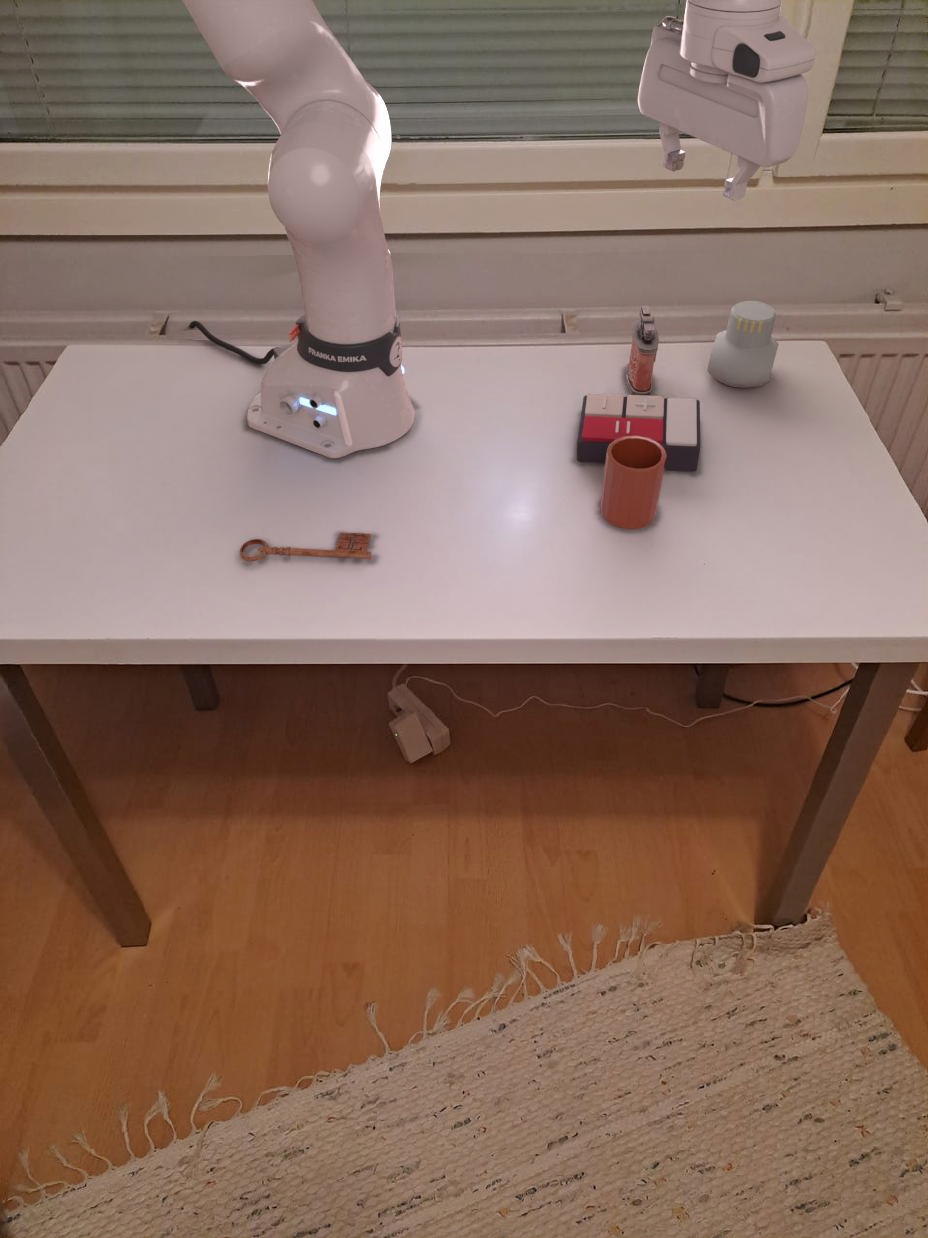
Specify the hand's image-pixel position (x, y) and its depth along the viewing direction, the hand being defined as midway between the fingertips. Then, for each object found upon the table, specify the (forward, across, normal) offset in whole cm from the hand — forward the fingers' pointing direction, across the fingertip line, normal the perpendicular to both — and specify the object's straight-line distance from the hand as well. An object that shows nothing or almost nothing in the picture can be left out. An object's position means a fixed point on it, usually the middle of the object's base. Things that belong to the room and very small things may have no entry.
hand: (701, 182), depth 99 cm
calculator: (+31, +1, -5) cm, 32 cm away
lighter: (+31, -9, +4) cm, 33 cm away
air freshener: (+31, -3, +17) cm, 35 cm away
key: (+31, -3, -50) cm, 59 cm away
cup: (+31, +12, -15) cm, 36 cm away
